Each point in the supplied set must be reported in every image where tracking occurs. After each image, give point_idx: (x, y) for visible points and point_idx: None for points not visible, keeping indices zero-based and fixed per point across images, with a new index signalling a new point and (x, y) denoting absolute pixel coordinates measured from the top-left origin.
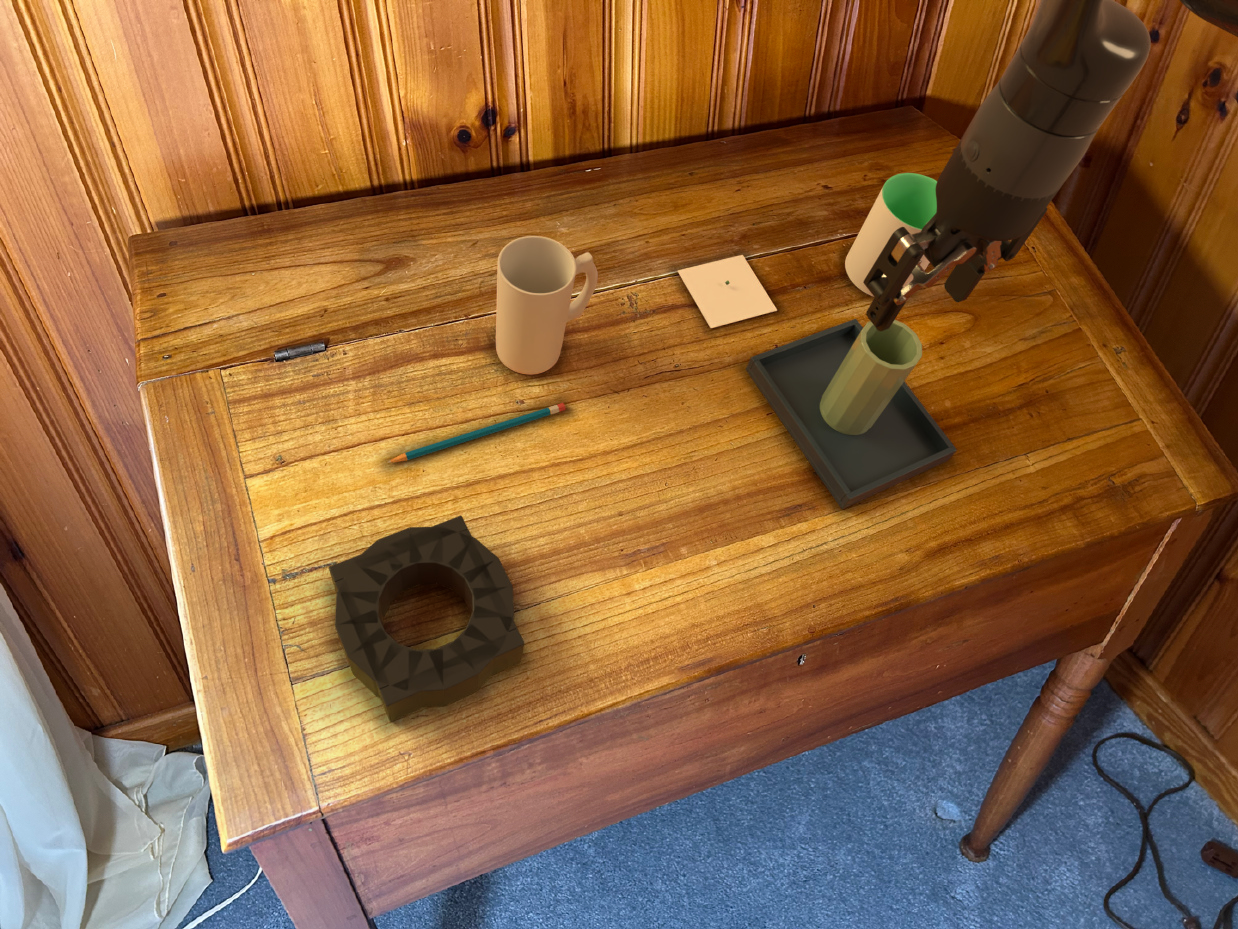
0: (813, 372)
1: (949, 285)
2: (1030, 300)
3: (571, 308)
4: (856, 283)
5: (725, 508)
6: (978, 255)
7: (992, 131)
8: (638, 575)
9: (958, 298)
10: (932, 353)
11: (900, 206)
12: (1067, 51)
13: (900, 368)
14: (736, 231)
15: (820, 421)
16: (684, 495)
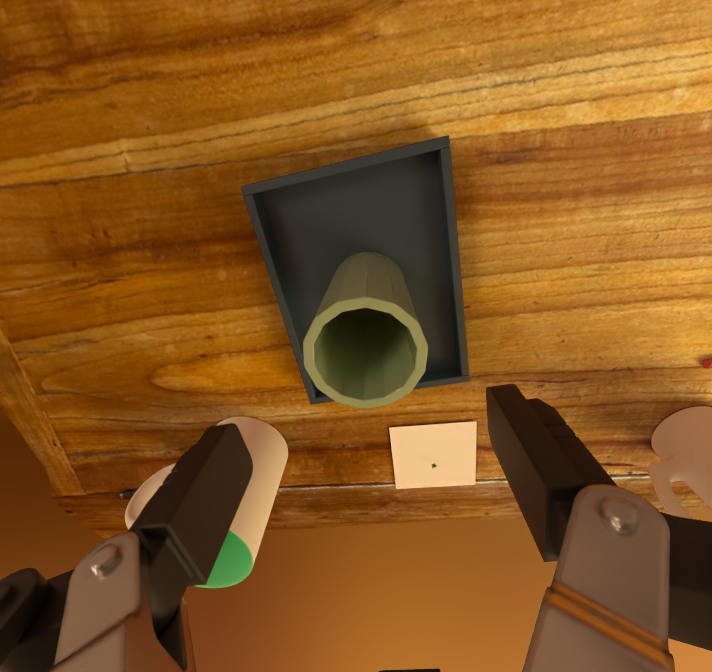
0: None
1: (243, 469)
2: (71, 387)
3: (674, 476)
4: (283, 441)
5: (603, 181)
6: (160, 663)
7: None
8: None
9: (230, 433)
10: (219, 345)
11: None
12: None
13: (375, 300)
14: (388, 510)
15: (411, 281)
16: (644, 214)
